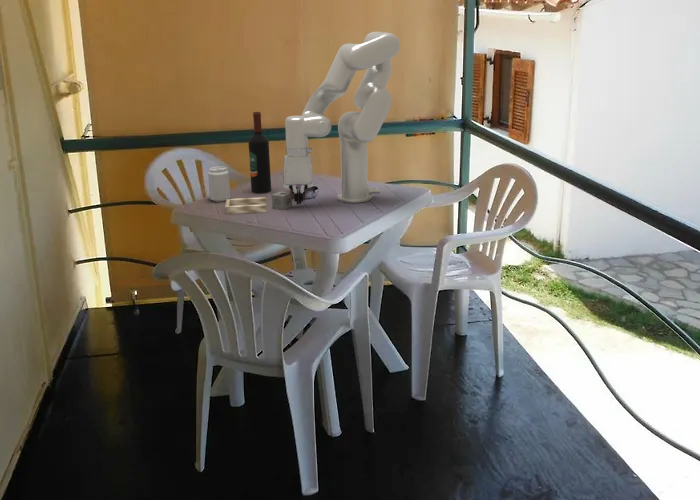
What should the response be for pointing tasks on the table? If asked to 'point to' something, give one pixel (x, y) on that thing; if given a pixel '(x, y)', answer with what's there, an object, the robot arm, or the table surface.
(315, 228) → the table surface
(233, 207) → the bay
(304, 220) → the table surface
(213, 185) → the can
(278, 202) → the dice cube
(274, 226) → the table surface
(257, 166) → the wine bottle
